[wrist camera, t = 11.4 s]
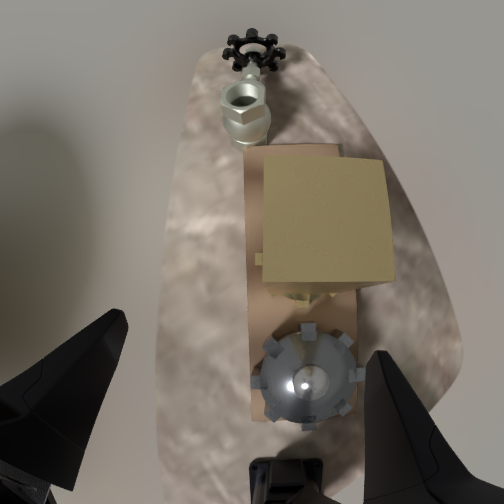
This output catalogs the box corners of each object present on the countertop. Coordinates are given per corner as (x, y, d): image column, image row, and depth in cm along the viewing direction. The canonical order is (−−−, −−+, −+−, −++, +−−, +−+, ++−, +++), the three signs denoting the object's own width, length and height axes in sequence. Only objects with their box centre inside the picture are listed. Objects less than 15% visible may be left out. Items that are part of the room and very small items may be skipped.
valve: (283, 158, 25) (285, 71, 28) (285, 115, 19) (285, 28, 21) (213, 156, 26) (227, 71, 28) (196, 115, 19) (218, 29, 22)
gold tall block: (345, 307, 21) (417, 306, 9) (255, 307, 22) (233, 309, 10) (342, 219, 23) (398, 143, 11) (257, 218, 23) (240, 135, 11)
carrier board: (353, 409, 21) (356, 414, 19) (252, 416, 21) (251, 421, 20) (335, 149, 25) (337, 143, 24) (244, 152, 26) (243, 145, 24)
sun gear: (352, 410, 20) (366, 428, 16) (255, 417, 20) (251, 438, 16) (353, 317, 21) (369, 319, 17) (252, 323, 22) (247, 327, 18)
